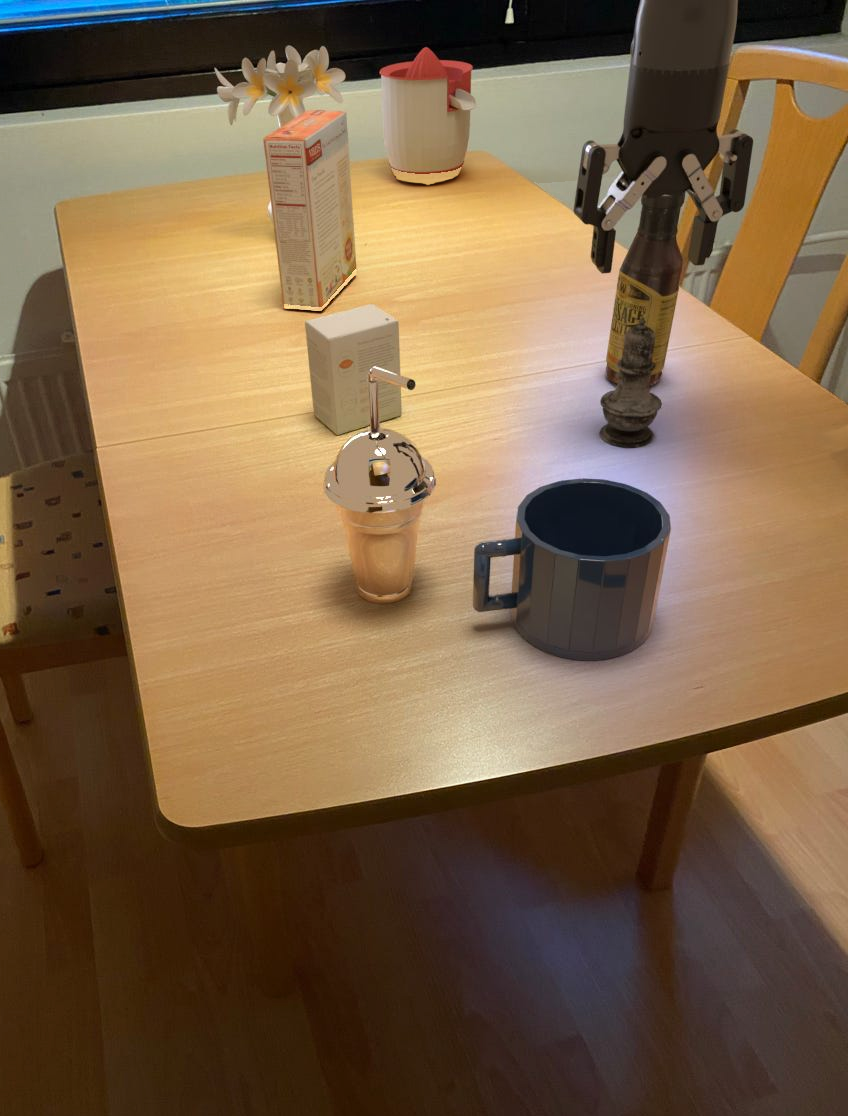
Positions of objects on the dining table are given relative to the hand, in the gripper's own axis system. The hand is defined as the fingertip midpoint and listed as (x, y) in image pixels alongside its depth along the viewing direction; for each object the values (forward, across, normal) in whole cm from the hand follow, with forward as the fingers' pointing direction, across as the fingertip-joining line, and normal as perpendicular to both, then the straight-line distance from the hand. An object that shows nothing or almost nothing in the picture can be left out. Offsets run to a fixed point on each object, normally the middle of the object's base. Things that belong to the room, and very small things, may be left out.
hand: (649, 266), depth 86 cm
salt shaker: (+17, 0, 0) cm, 17 cm away
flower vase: (+17, -28, +73) cm, 80 cm away
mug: (+17, -15, -27) cm, 35 cm away
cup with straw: (+17, -27, -21) cm, 38 cm away
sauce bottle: (+17, +5, +12) cm, 21 cm away
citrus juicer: (+17, -2, +98) cm, 99 cm away
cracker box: (+17, -26, +47) cm, 57 cm away
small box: (+17, -26, +10) cm, 33 cm away
